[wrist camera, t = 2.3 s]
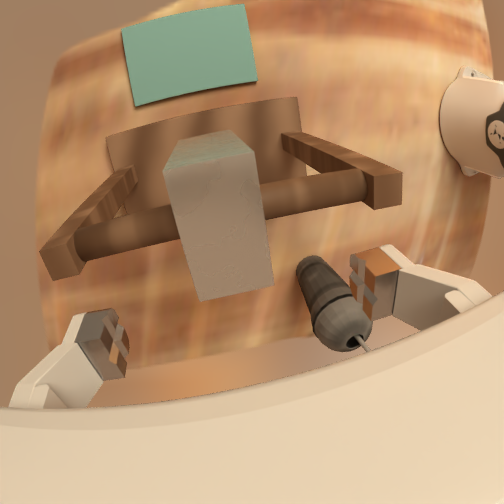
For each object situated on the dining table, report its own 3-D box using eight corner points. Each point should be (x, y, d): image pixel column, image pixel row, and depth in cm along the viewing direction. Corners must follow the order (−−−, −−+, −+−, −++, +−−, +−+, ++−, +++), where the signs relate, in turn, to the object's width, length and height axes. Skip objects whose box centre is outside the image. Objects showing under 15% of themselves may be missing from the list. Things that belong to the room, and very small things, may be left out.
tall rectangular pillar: (229, 129, 22) (254, 151, 13) (244, 211, 26) (274, 285, 16) (178, 140, 22) (162, 171, 12) (197, 221, 25) (199, 301, 16)
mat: (243, 5, 26) (244, 3, 26) (257, 80, 31) (257, 80, 31) (122, 30, 25) (121, 28, 25) (136, 106, 30) (135, 106, 30)
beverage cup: (288, 248, 42) (347, 354, 25) (336, 245, 43) (413, 338, 26) (285, 292, 46) (332, 401, 28) (330, 287, 47) (391, 384, 29)
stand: (293, 97, 33) (407, 103, 14) (303, 175, 38) (403, 259, 19) (109, 136, 31) (8, 189, 12) (130, 212, 36) (75, 332, 17)
